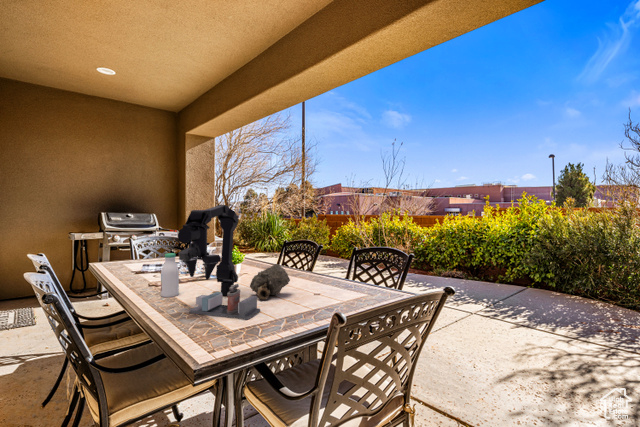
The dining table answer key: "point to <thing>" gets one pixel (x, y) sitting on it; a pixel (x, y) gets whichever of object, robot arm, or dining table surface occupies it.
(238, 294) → the lighter
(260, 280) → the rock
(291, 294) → the dining table surface
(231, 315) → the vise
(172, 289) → the milk bottle
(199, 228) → the robot arm
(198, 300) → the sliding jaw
